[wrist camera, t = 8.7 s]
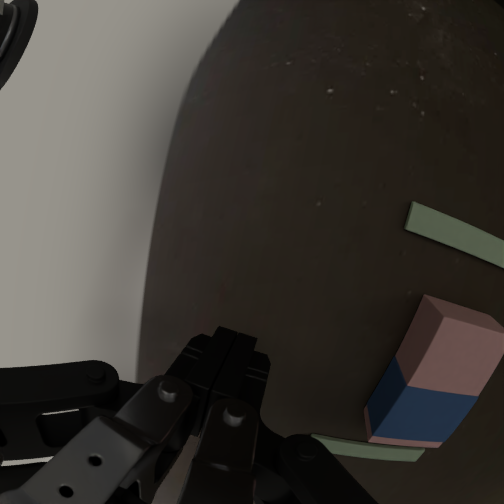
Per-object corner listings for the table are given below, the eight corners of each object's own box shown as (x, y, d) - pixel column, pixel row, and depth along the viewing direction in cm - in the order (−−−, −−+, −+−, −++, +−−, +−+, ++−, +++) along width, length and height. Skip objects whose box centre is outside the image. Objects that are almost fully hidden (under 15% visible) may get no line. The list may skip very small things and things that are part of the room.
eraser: (361, 409, 13) (366, 443, 11) (422, 293, 12) (443, 316, 9) (428, 419, 13) (439, 449, 10) (490, 315, 11) (514, 337, 9)
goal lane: (304, 444, 15) (304, 448, 14) (411, 201, 11) (413, 201, 11) (414, 458, 14) (415, 461, 13) (530, 254, 10) (533, 256, 10)
